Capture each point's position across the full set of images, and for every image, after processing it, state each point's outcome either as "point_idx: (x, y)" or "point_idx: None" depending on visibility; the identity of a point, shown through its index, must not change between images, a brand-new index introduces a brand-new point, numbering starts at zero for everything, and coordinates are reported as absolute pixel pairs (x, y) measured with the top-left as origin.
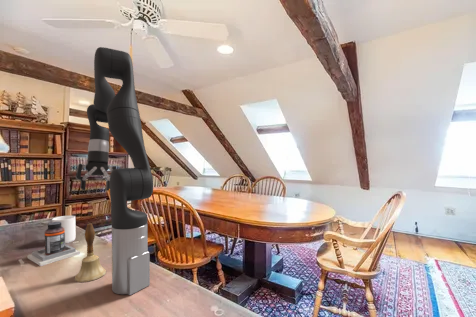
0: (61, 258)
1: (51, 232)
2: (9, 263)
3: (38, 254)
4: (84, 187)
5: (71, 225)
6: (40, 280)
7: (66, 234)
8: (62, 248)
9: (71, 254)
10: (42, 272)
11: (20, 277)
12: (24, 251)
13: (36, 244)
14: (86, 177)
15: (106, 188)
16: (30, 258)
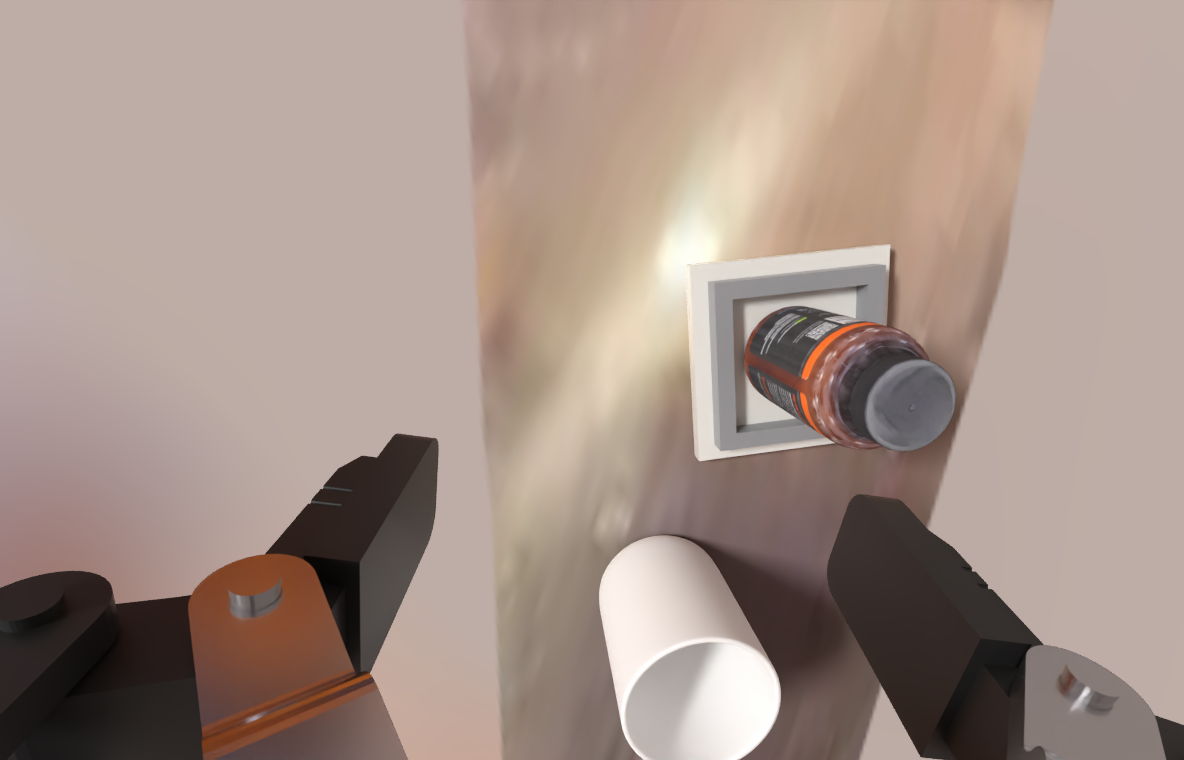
0: (786, 254)
1: (912, 338)
2: None
3: None
4: (901, 523)
5: (658, 606)
6: (949, 23)
7: (679, 562)
8: (779, 316)
9: (735, 260)
10: (905, 136)
11: (981, 162)
12: None
13: (771, 636)
14: (1061, 735)
15: (425, 499)
16: None
